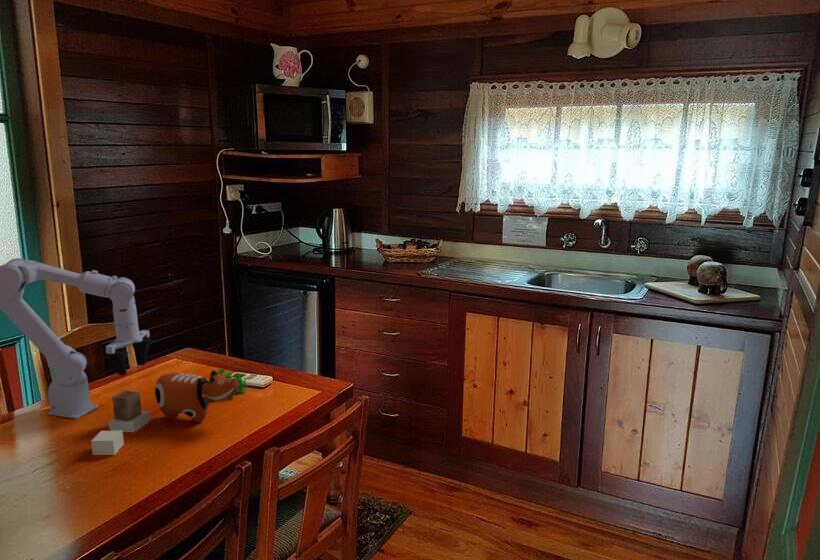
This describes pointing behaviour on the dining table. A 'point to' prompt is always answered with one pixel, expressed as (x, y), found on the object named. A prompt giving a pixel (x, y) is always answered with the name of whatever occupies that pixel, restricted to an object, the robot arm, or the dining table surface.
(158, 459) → the dining table surface
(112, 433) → the cream block
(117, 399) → the walnut block
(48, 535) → the dining table surface
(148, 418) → the sage slab
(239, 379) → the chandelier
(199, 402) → the toy
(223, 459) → the dining table surface
